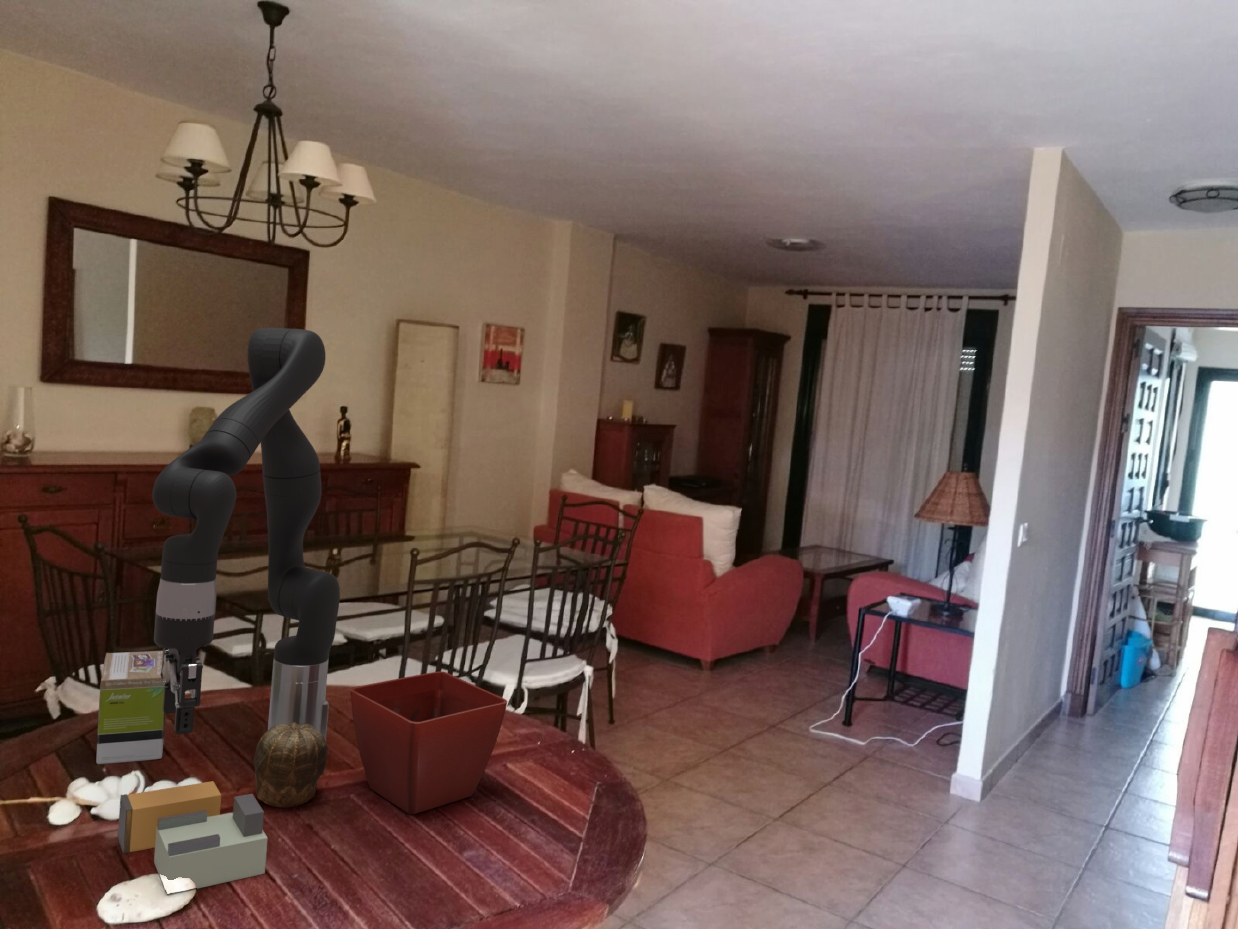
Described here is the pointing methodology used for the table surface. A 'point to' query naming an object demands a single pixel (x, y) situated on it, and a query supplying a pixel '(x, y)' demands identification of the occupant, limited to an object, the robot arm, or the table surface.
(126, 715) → the tea box
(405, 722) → the plant pot
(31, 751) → the table surface
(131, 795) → the orange rectangular block
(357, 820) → the table surface
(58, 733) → the table surface
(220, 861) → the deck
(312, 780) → the shell
